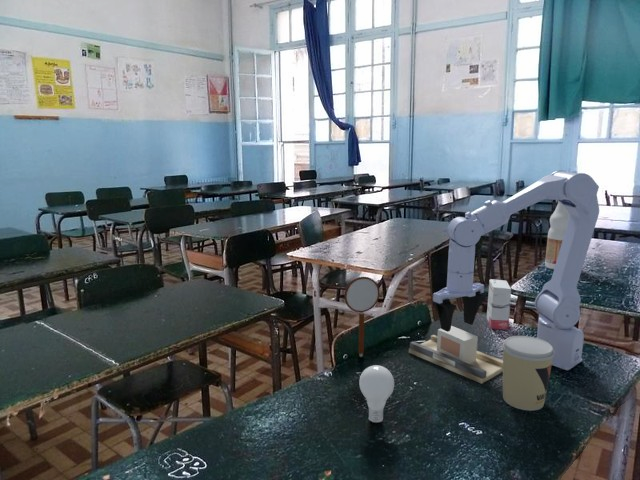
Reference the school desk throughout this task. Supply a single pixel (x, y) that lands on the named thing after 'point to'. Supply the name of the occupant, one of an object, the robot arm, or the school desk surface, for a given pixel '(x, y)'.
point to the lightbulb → (376, 390)
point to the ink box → (498, 304)
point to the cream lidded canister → (526, 371)
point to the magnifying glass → (361, 301)
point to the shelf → (459, 361)
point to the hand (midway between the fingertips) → (457, 326)
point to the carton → (457, 344)
